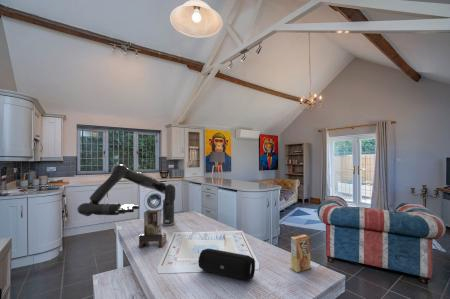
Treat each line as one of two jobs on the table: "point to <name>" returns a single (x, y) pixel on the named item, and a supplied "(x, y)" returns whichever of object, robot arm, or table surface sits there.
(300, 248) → the candy box
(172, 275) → the table surface
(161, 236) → the bench
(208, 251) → the portable speaker
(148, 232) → the coffee box
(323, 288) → the table surface
